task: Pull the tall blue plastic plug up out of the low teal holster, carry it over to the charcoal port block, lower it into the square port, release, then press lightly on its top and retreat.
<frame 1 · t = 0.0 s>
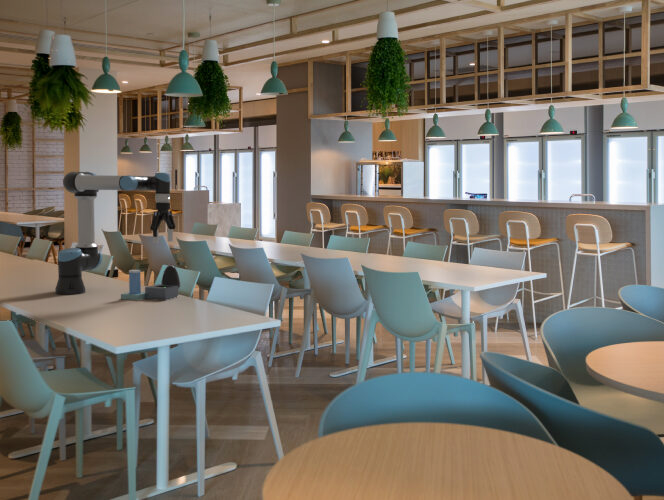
hand: (163, 242, 365), 28 cm above the table, fingers open, 13 cm apart
plug: (134, 284, 354), in the holster
holster: (135, 298, 355), on the table
port: (161, 297, 357), on the table
black egg shape: (170, 293, 372), on the table
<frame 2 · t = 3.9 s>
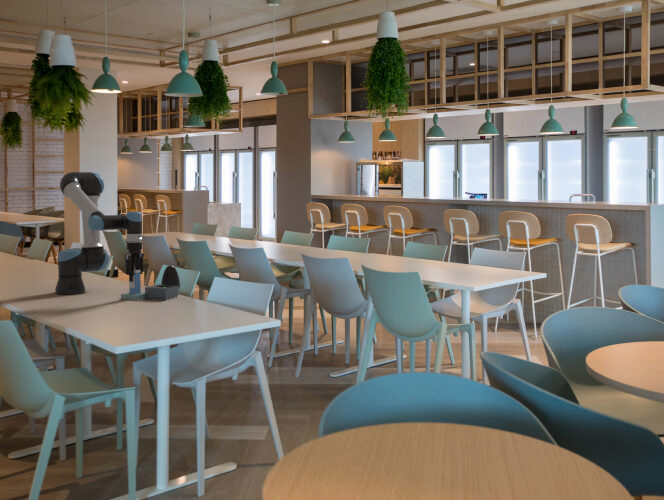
hand: (134, 287, 355), 6 cm above the table, fingers closed on plug, 4 cm apart
plug: (134, 284, 354), in the holster, touching gripper
everything else where it was.
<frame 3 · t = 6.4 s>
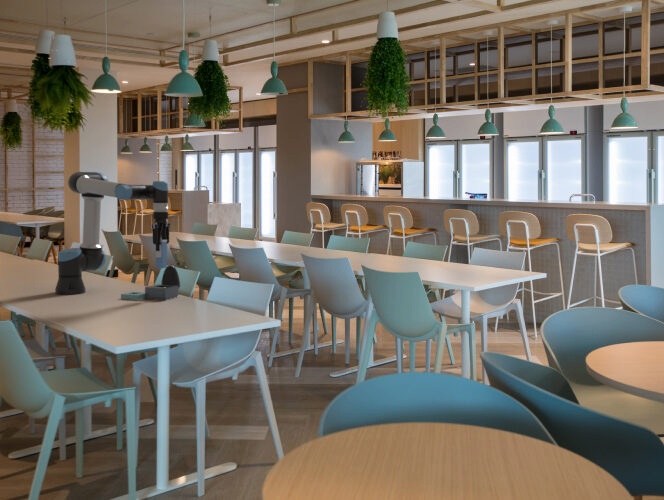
hand: (161, 256, 355), 21 cm above the table, fingers closed on plug, 4 cm apart
plug: (161, 253, 355), point 23 cm above the table, touching gripper
everything else where it was.
when the fingers open (7 cm above the table, at t = 9.1 s): plug stays where it is, resting on port.
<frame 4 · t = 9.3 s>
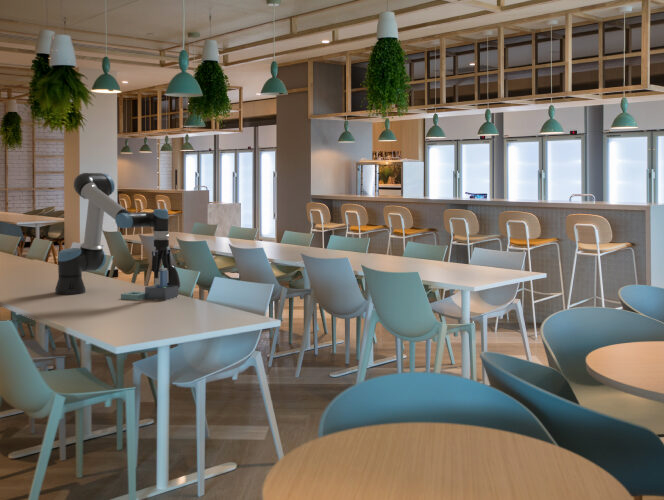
hand: (161, 283, 356), 8 cm above the table, fingers open, 7 cm apart
plug: (161, 282, 356), in the port, point 8 cm above the table
everything else where it was.
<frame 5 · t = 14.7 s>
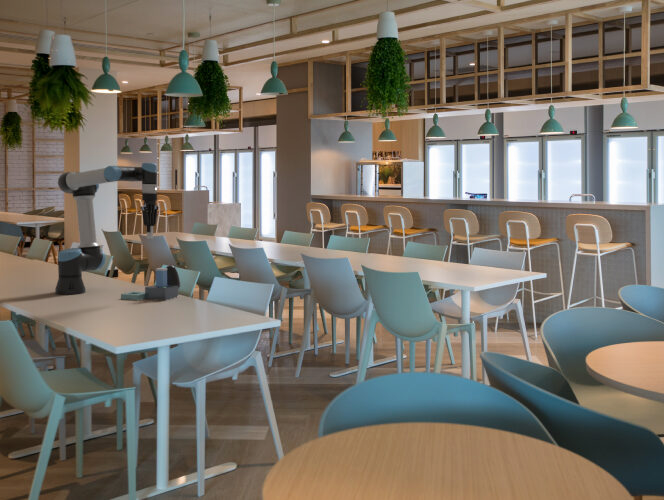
hand: (150, 238, 359), 30 cm above the table, fingers closed
nothing on the table moved.
at the end: plug 0.0 cm off-centre on the port, point 8.2 cm above the port's base; plug tilted 0°; the gripper is holding nothing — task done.
